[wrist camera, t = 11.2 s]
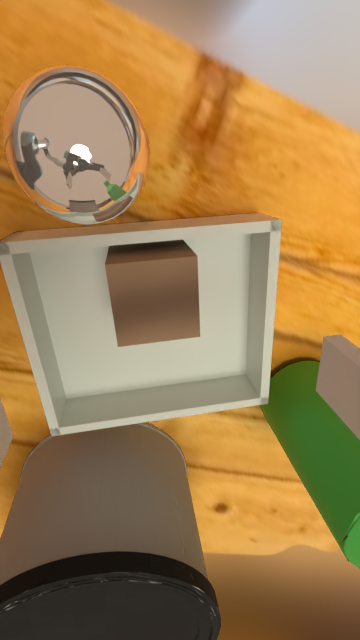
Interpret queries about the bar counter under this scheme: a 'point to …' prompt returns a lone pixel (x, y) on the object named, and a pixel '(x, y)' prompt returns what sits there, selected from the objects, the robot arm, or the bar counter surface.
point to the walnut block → (153, 291)
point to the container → (105, 543)
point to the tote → (152, 358)
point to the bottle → (318, 450)
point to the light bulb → (76, 144)
